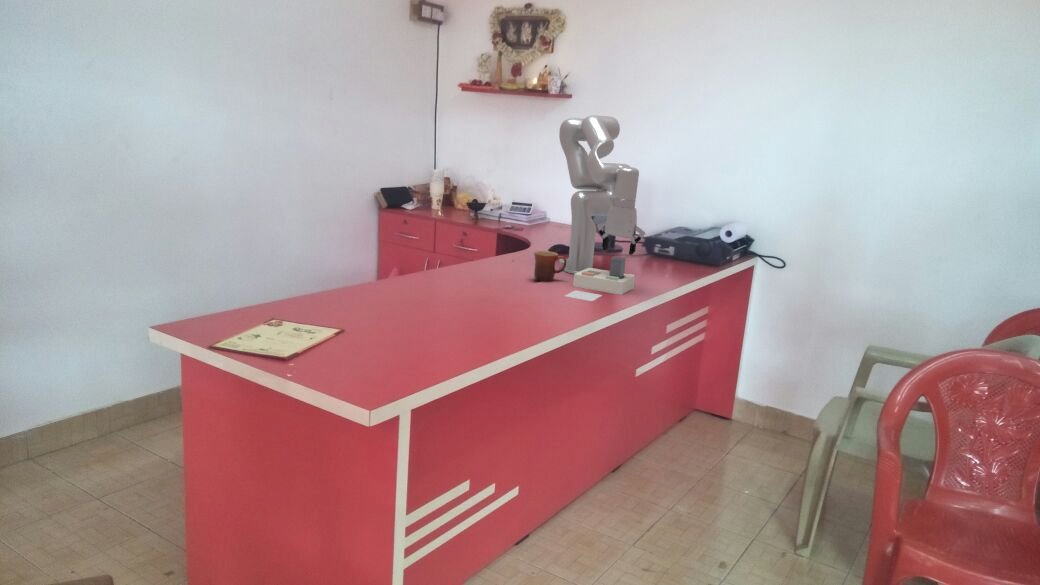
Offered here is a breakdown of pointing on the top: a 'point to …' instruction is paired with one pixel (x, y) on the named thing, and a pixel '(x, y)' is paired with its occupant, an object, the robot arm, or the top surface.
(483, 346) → the top surface
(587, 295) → the mat
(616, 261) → the dark grey rectangular prism
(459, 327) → the top surface
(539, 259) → the mug
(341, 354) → the top surface
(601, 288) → the socket block
